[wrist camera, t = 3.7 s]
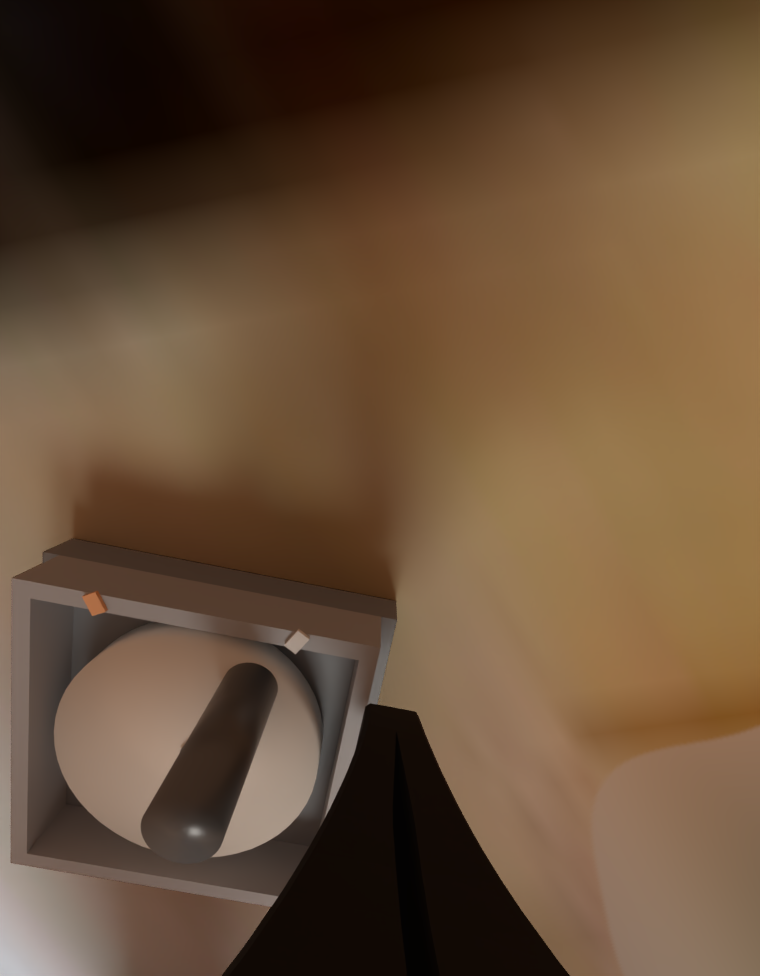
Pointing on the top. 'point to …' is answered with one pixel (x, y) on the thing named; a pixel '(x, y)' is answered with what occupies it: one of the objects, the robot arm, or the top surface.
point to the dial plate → (196, 605)
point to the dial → (190, 741)
